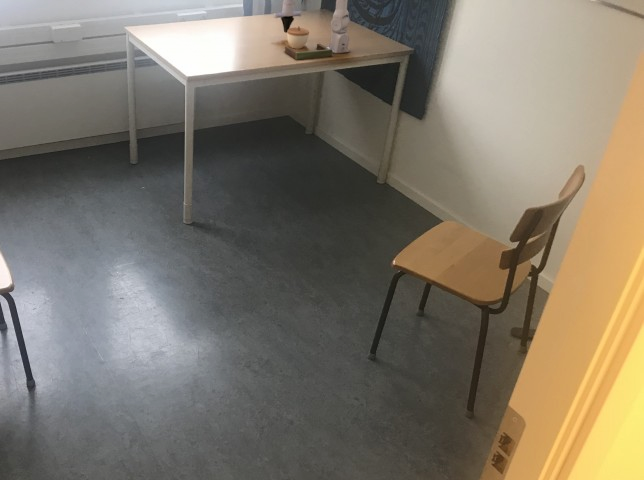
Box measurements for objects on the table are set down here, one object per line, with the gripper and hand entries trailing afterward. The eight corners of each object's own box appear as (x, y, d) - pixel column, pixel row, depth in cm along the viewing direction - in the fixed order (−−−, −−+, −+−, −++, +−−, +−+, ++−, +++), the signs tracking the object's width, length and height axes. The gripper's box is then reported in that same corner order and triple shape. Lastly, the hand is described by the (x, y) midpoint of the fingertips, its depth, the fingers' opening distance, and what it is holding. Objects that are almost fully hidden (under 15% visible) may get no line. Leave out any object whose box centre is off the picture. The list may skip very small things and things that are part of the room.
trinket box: (293, 42, 354) (295, 22, 348) (311, 46, 349) (313, 26, 343) (281, 47, 348) (283, 27, 342) (299, 51, 343) (302, 31, 337)
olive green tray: (331, 56, 338) (332, 49, 336) (296, 59, 332) (297, 53, 330) (319, 48, 347) (319, 42, 345) (284, 52, 341) (285, 45, 340)
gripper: (298, 0, 352) (295, 28, 360) (272, 2, 348) (269, 31, 356) (304, 3, 347) (301, 32, 355) (278, 5, 343) (275, 34, 351)
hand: (285, 32), depth 355 cm, fingers closed
